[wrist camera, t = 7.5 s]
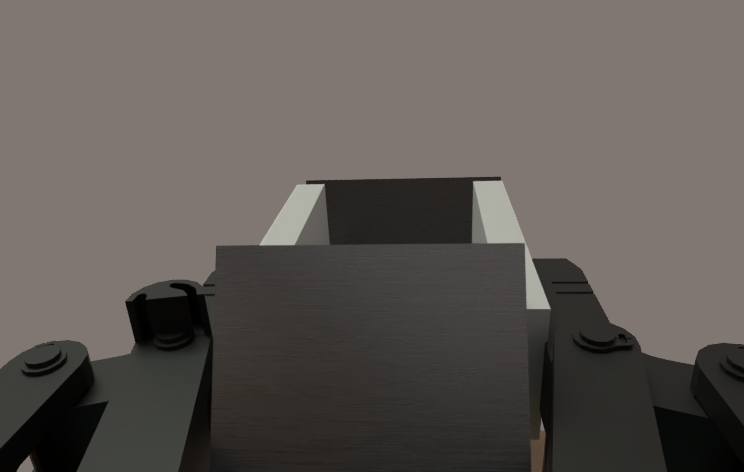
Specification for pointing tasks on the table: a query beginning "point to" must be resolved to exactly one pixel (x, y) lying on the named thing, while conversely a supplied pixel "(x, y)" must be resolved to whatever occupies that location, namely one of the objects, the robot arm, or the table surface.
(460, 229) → the bar
